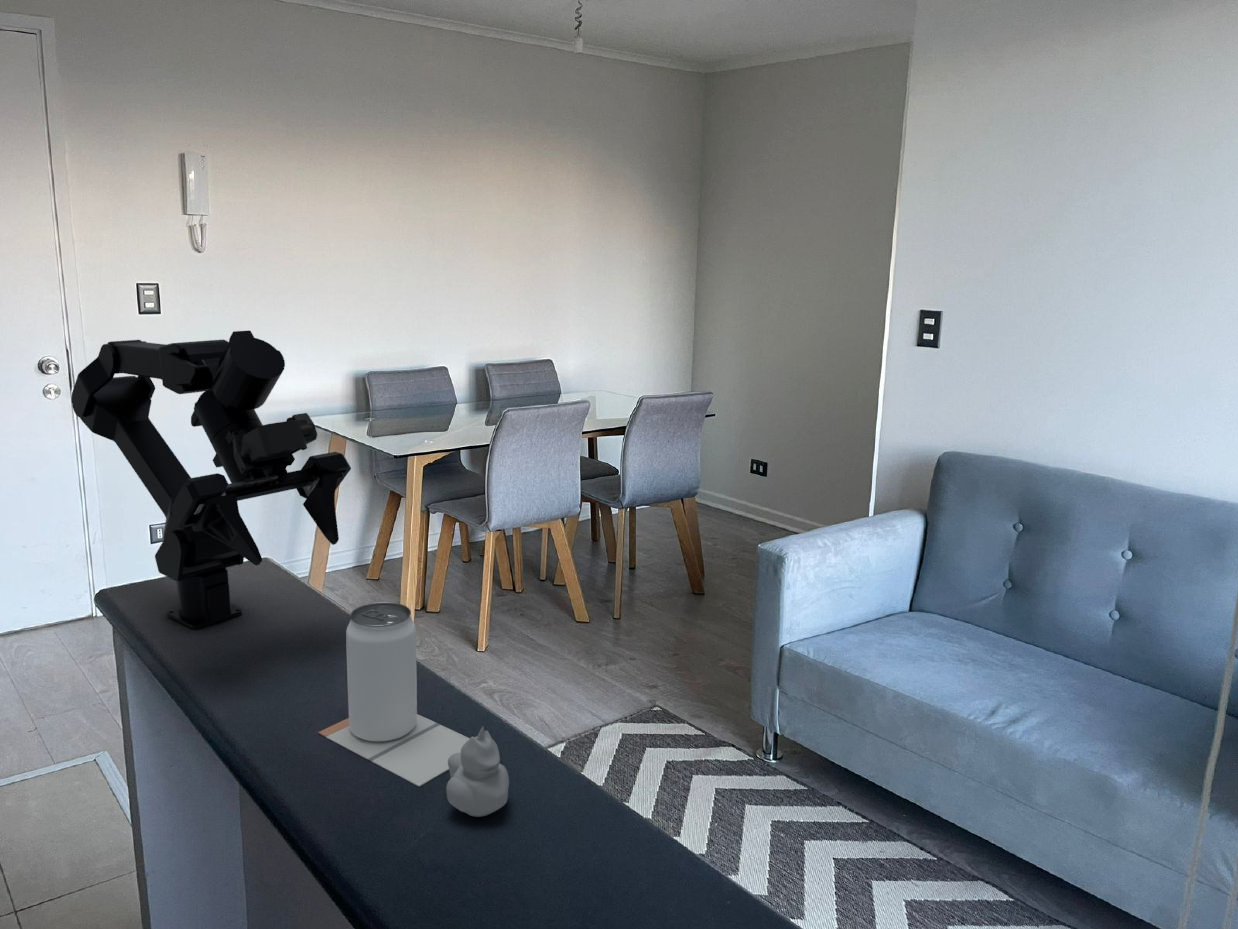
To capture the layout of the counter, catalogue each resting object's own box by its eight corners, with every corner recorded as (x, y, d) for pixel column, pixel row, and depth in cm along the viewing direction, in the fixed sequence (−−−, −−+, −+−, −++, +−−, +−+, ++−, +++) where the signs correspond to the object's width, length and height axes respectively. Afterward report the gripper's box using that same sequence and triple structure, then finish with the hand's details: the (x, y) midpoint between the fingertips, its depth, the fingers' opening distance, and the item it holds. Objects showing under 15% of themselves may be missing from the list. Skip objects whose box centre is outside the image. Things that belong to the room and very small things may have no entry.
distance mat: (318, 733, 92) (318, 732, 92) (387, 701, 99) (387, 699, 99) (419, 786, 84) (419, 785, 84) (486, 747, 91) (486, 746, 91)
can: (384, 752, 89) (381, 633, 86) (334, 731, 92) (330, 616, 89) (430, 722, 95) (429, 610, 92) (382, 704, 98) (379, 595, 95)
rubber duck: (475, 837, 78) (475, 748, 76) (426, 803, 82) (425, 718, 80) (525, 809, 82) (526, 725, 80) (476, 778, 86) (476, 697, 84)
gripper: (175, 401, 94) (242, 533, 90) (338, 381, 108) (402, 495, 104) (145, 464, 101) (205, 589, 97) (301, 438, 115) (360, 546, 111)
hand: (298, 552), depth 102 cm, fingers open, 9 cm apart
